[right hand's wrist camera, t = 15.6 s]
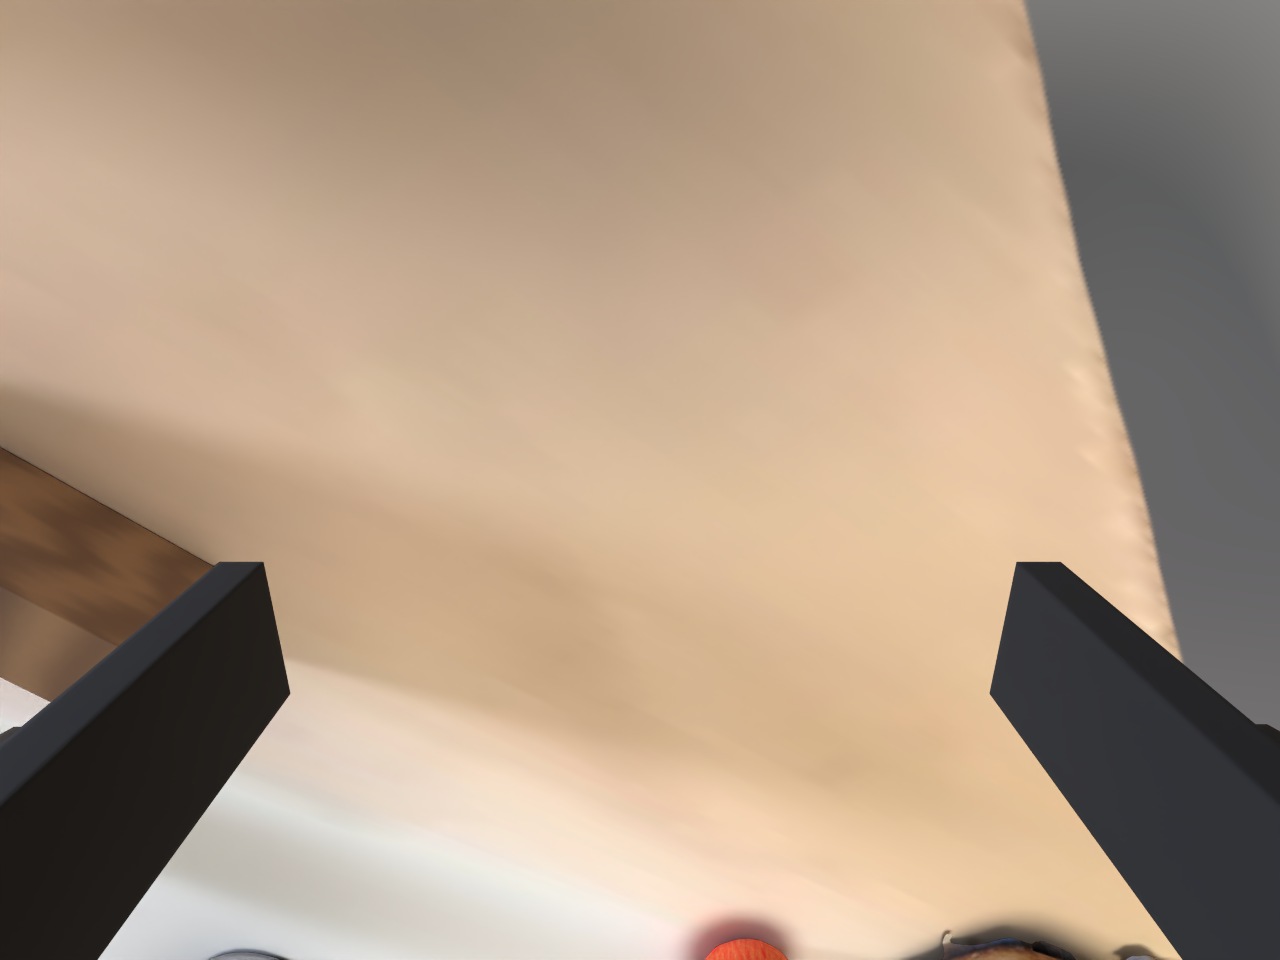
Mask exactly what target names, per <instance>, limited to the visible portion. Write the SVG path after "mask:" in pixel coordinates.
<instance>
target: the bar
mask: <svg viewBox="0 0 1280 960" xmlns="http://www.w3.org/2000/svg"><path fill="white" fill-rule="evenodd" d="M212 568H213V566H211V565H209V564H208V563H206V562H204V561H202V560H200V559H199V558H197V557H195V556H193V555H191V554H190V553H188V552H186V551H184V550H183V549H181V548H179V547H177V546H175V545H174V544H172V543H170V542H168V541H166V540H165V539H163V538H161V537H159V536H157V535H156V534H154V533H152V532H150V531H148V530H147V529H145V528H143V527H141V526H140V525H138V524H136V523H134V522H132V521H131V520H129V519H127V518H125V517H123V516H122V515H120V514H118V513H116V512H114V511H113V510H111V509H109V508H107V507H106V506H104V505H102V504H100V503H98V502H97V501H95V500H93V499H91V498H89V497H88V496H86V495H84V494H82V493H80V492H79V491H77V490H75V489H73V488H71V487H70V486H68V485H66V484H64V483H63V482H61V481H59V480H57V479H55V478H54V477H52V476H50V475H48V474H46V473H45V472H43V471H41V470H39V469H37V468H36V467H34V466H32V465H30V464H28V463H27V462H25V461H23V460H21V459H20V458H18V457H16V456H14V455H12V454H11V453H9V452H7V451H5V450H3V449H2V448H0V677H1V678H3V679H5V680H7V681H9V682H11V683H13V684H15V685H17V686H19V687H21V688H23V689H25V690H27V691H29V692H31V693H33V694H35V695H37V696H39V697H41V698H43V699H45V700H47V701H50V702H52V701H53V700H54V699H56V698H57V697H58V696H59V695H60V694H62V693H63V692H64V691H65V690H66V689H68V688H69V687H70V686H71V685H72V684H74V683H75V682H76V681H77V680H78V679H80V678H81V677H82V676H83V675H84V674H86V673H87V672H88V671H89V670H90V669H92V668H93V667H94V666H95V665H96V664H98V663H99V662H100V661H101V660H102V659H104V658H105V657H106V656H107V655H108V654H110V653H111V652H112V651H113V650H114V649H116V648H117V647H118V646H119V645H120V644H122V643H123V642H124V641H125V640H126V639H128V638H129V637H130V636H131V635H132V634H134V633H135V632H136V631H137V630H138V629H140V628H141V627H142V626H143V625H144V624H146V623H147V622H148V621H149V620H150V619H152V618H153V617H154V616H155V615H156V614H158V613H159V612H160V611H161V610H162V609H164V608H165V607H166V606H167V605H168V604H170V603H171V602H172V601H173V600H174V599H176V598H177V597H178V596H179V595H180V594H182V593H183V592H184V591H185V590H186V589H188V588H189V587H190V586H191V585H192V584H194V583H195V582H196V581H197V580H198V579H200V578H201V577H202V576H203V575H204V574H206V573H207V572H208V571H209V570H210V569H212Z"/></svg>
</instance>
